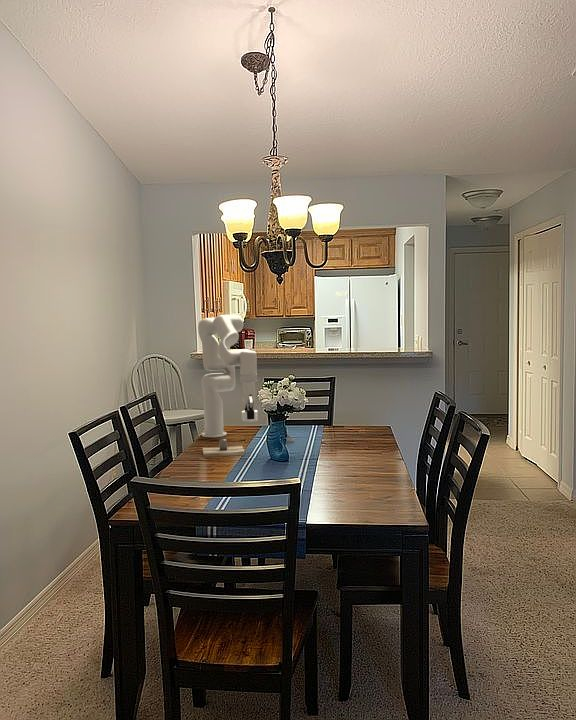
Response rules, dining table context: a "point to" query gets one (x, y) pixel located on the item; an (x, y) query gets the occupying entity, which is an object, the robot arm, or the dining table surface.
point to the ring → (244, 416)
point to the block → (217, 452)
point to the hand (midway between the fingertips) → (249, 417)
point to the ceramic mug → (289, 438)
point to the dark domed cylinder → (223, 444)
